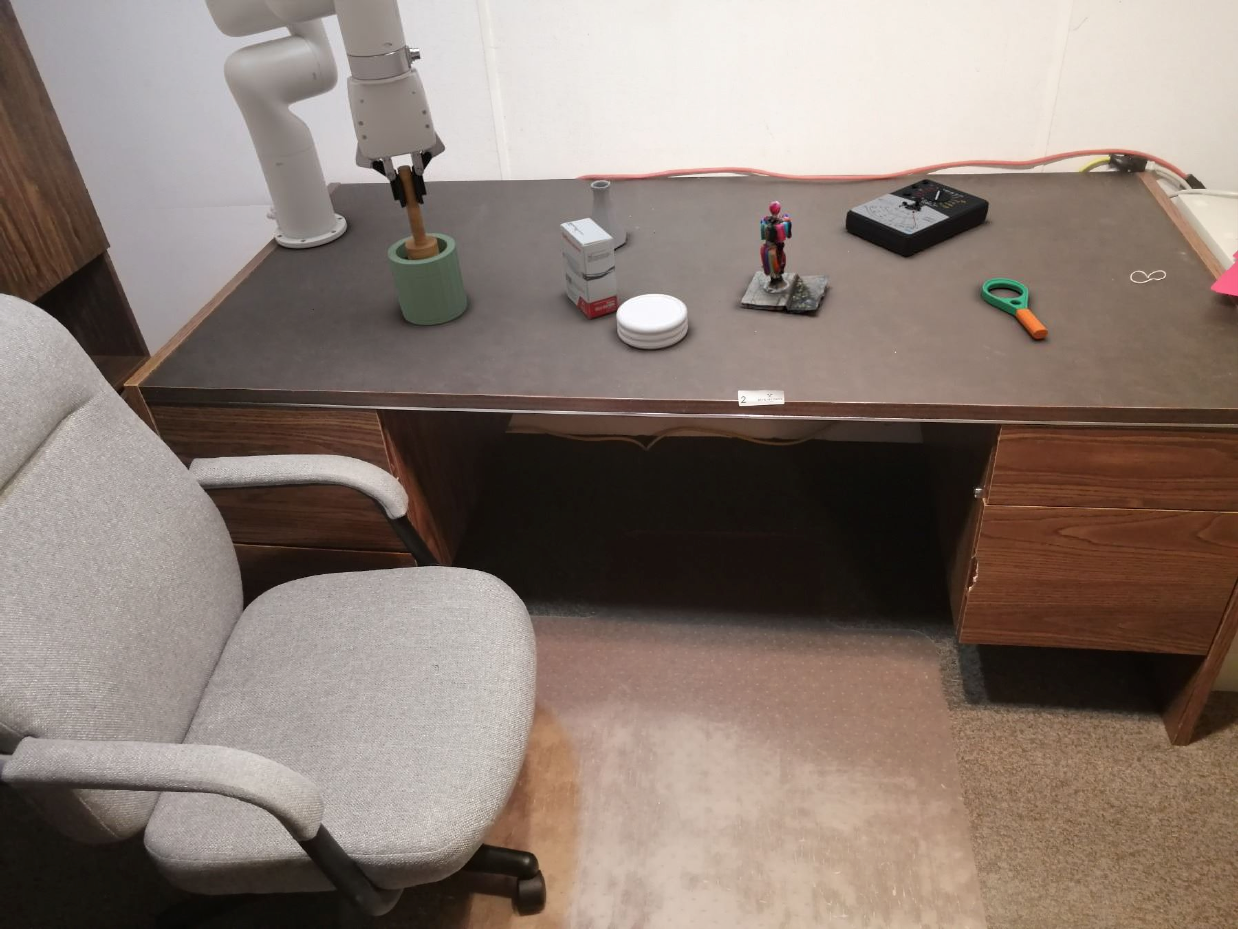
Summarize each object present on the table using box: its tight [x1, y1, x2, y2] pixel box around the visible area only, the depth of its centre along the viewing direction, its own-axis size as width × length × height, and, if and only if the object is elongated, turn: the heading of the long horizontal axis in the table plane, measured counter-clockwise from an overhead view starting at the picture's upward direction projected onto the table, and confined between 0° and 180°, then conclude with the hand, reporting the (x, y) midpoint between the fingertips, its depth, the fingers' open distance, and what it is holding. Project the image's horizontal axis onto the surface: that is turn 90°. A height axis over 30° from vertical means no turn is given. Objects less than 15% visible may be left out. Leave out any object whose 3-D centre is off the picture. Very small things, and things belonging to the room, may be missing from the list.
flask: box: [589, 179, 627, 250], centre depth 146 cm, size 7×7×10 cm
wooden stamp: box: [396, 164, 440, 260], centre depth 127 cm, size 5×5×16 cm
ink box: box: [559, 217, 619, 319], centre depth 130 cm, size 8×5×12 cm, turn 26°
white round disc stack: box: [615, 293, 689, 350], centre depth 125 cm, size 10×10×4 cm
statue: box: [740, 200, 830, 314], centre depth 127 cm, size 11×9×15 cm
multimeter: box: [845, 178, 990, 257], centre depth 145 cm, size 13×19×5 cm
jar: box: [387, 232, 468, 326], centre depth 133 cm, size 10×10×10 cm
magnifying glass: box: [981, 277, 1049, 339], centre depth 123 cm, size 15×6×2 cm, turn 3°
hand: (411, 201), depth 125 cm, fingers closed on wooden stamp
